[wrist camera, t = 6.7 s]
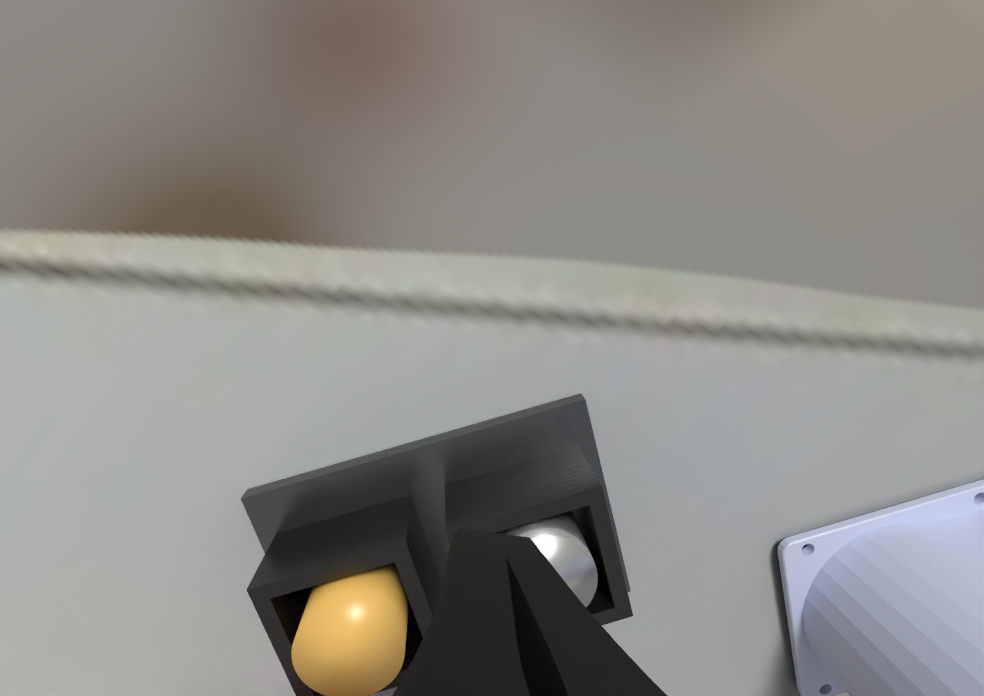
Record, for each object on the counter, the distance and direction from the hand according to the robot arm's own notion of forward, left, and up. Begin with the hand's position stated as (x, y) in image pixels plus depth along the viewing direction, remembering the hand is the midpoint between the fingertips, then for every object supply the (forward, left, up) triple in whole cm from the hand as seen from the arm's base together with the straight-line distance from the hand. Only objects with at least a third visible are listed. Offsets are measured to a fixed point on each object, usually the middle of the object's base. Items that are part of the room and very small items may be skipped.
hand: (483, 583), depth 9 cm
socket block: (+2, +5, -9) cm, 11 cm away
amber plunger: (+5, +5, -8) cm, 11 cm away
